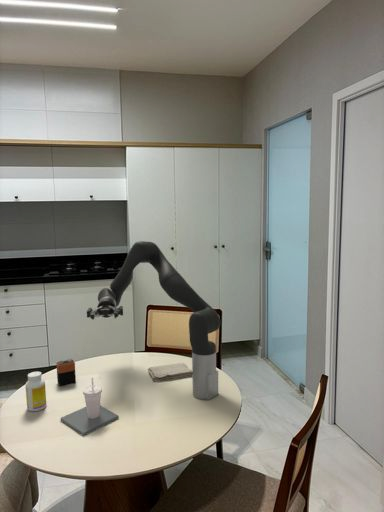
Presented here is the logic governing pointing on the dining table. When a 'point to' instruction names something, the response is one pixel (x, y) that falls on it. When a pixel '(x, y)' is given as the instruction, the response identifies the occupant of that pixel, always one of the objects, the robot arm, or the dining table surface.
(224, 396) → the dining table surface
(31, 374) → the supplement bottle
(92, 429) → the coaster
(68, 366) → the battery
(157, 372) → the washcloth
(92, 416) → the smoothie
